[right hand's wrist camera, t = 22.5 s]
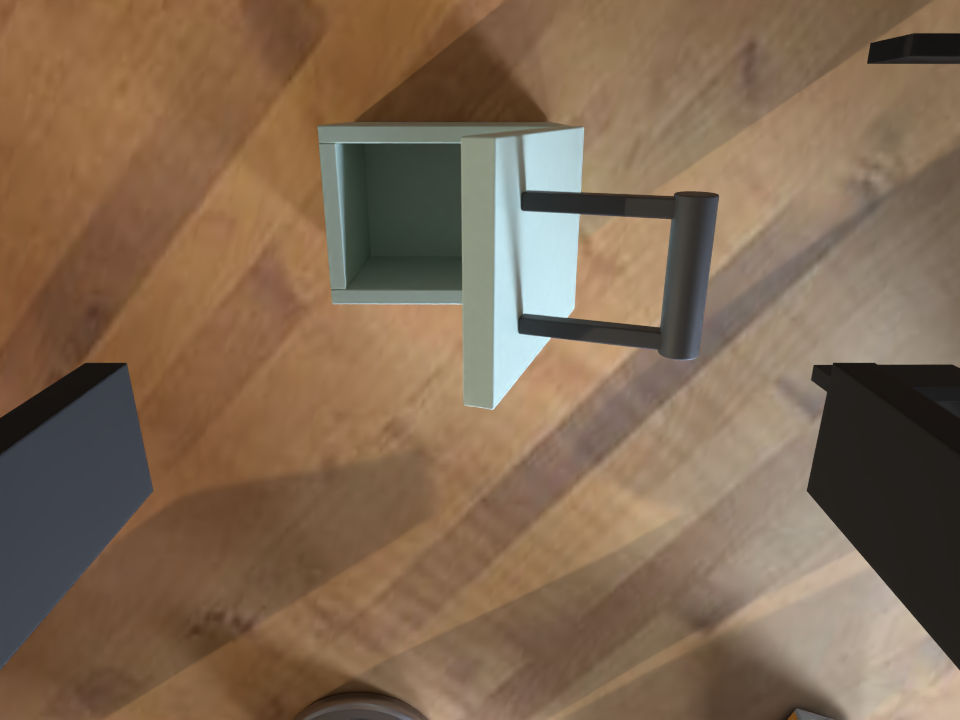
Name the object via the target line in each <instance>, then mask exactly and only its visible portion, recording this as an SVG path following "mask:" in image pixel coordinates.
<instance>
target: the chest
mask: <svg viewBox="0 0 960 720" xmlns="http://www.w3.org/2000/svg"><path fill="white" fill-rule="evenodd" d="M557 126H568V125H563V124H558V123H553V122H346V123H337V124H327V125H319V126H318V139H319V152H320V164H321V176H322V188H323V200H324V212H325V224H326V236H327V248H328V260H329V272H330V284H331V296H332V304H462V201H461V137H462V136H468V135H478V134H488V133H498V132H508V131H517V130H527V129H537V128H547V127H557Z"/></svg>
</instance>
